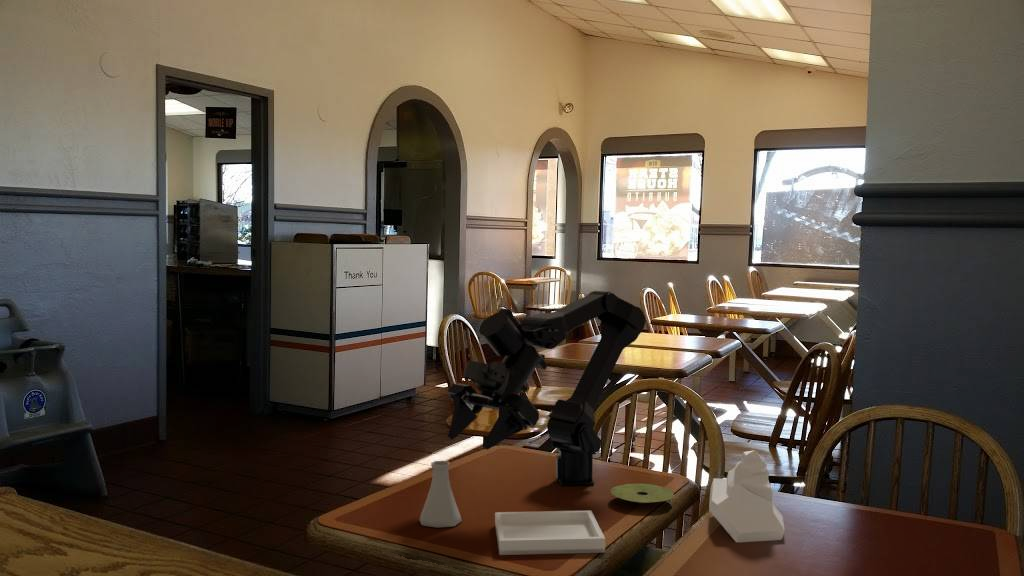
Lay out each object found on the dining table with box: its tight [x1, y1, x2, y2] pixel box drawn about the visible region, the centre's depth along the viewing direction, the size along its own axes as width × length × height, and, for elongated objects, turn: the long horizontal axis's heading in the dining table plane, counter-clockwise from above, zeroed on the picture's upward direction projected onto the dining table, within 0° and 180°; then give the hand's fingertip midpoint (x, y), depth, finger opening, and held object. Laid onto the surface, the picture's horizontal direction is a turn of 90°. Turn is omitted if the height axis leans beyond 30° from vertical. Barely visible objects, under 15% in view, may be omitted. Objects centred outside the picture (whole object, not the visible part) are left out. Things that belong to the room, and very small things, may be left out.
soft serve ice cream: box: [708, 449, 785, 543], centre depth 136 cm, size 12×15×14 cm
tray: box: [494, 510, 606, 556], centre depth 132 cm, size 16×13×2 cm
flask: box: [419, 460, 463, 528], centre depth 139 cm, size 7×7×10 cm
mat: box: [610, 483, 675, 505], centre depth 150 cm, size 11×11×2 cm
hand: (466, 443), depth 143 cm, fingers open, 9 cm apart
